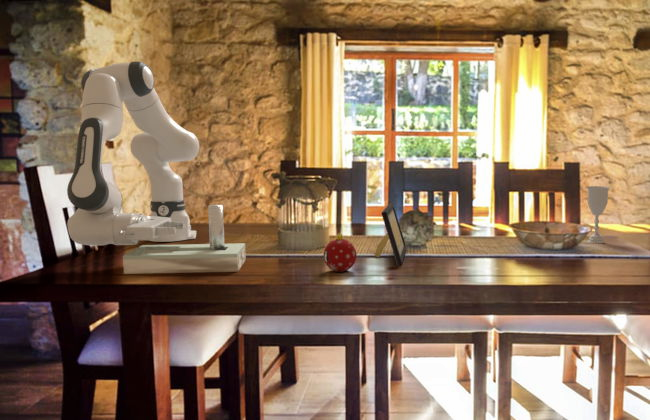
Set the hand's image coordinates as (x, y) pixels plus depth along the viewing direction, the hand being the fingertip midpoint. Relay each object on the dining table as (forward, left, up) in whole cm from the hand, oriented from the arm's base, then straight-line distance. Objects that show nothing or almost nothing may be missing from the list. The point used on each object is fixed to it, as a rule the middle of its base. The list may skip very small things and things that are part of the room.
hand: (179, 227), depth 153 cm
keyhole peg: (0, +10, -10) cm, 14 cm away
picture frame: (-8, +59, -11) cm, 60 cm away
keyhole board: (0, +2, -11) cm, 11 cm away
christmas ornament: (+10, +44, -11) cm, 46 cm away
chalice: (-26, +129, -11) cm, 132 cm away
